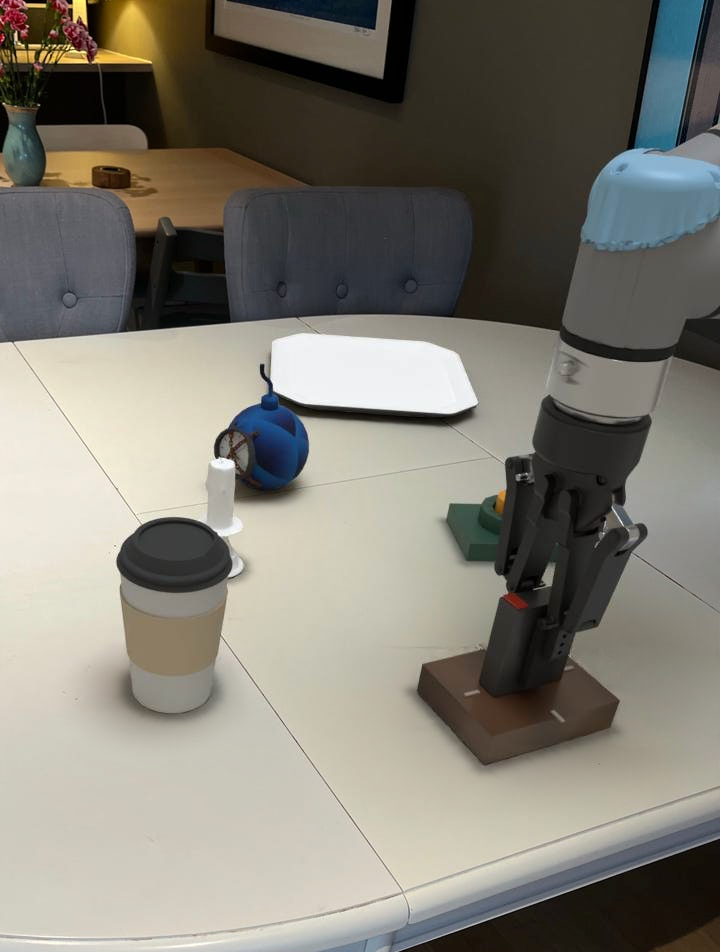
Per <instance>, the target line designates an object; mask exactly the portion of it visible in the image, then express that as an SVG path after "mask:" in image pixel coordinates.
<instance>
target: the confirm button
mask: <svg viewBox="0 0 720 952" xmlns="http://www.w3.org/2000/svg"><path fill="white" fill-rule="evenodd" d="M505 494H506V489H504V490H501V491H499V492H498V493H497V495H498V497H497V502H496V506H495V511H496V512H498V513H500V514H501V515H502V513H503V507H504V500H505Z"/></svg>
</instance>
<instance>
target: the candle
mask: <svg viewBox="0 0 720 952" xmlns="http://www.w3.org/2000/svg"><path fill="white" fill-rule="evenodd" d="M207 467H208V468H207V477H206V480H205V487H206V491H207V507H206V508H207V511H206V514H204V515H202V516H200V517H199V518H198V519H196V520H197V521H200V522H202V523H204V524H206V525H208V526H209V527H210V528H212V529H213V530H214V531H215V532H217V534H218V535H219V536H220V537H221V538H222V539H223V540H224V541H225V542H226V544H227V545H228V547H229V551H230V556H231V558H232V563H233V565H232V570H231V572H230V574H229V575H228V579H230V578H234V577H236V576H238V575H239V574H241V573H242V571H243V570H244V566H245V563H244V561H243V559H242V558H240V556H238V552H237V550H236V548H235V547H233V546H232V544H231V542H230V538H229V537H232V536H236V535H238V534H239V533H240V532H241V531H242V530H243V529H244V524H243V521H242V520H241V519H239V518H238V517H236V516H235V515H234V504H235V488H236V479H235V463H234V461H233V460H228V459H225V458H220V457H219V459H216V458H214V459H213V460H210V461H209V463H208V466H207Z"/></svg>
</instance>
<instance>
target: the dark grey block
mask: <svg viewBox="0 0 720 952" xmlns="http://www.w3.org/2000/svg"><path fill="white" fill-rule="evenodd" d="M551 587H552V585H549V586H545V587H541V588H537V589H533V590H531V591H526V592H522V593H517V594H514V593H510V594H508V593H506V594H503V595H502V596H500V597H499V599H498V602H497V607H496V611H495V615H494V618H493V623H492V626H491V631H490V633H489V638H488V642H487V645H486V647H487V650H486V654H485V658H484V662H483V666H482V670H481V674H480V678H479V683H480V684H481V685H482V686H483V687H484V688H485V689H486V690H487V691H488V692H489V693H490V694H491V695H492V696H493V697H498V696H502V695H505V694H509V693H513V692H517V691H520V690H524V689H523V688H522V687H521V686H519V681H520V678H521V674H522V671H523V667H524V664H525V660H526V657H527V653H528V649H529V646H530V642H531V639H532V635H533V632H534V628H535V625H536V621H537V619H540V618H544V617H546V616H547V610H548V604H549V599H550V593H551ZM576 634H577V633H573V634H572V635H571V638H570V642H569V644H568V648H567V651H566V655H565V656H564V657H563V658H561V659H558V661H557V664H556V667H555V671H554V674H553V677H552V680H551V682H554V681H558V680H561V679H562V675H563V672H564V669H565V666H566V663H567V659H568V656H569V655H570V653H571V651H572V650H571V649H572V647H573V643H574V639H575V636H576ZM569 657H570V656H569Z"/></svg>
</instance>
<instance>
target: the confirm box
mask: <svg viewBox="0 0 720 952" xmlns="http://www.w3.org/2000/svg"><path fill="white" fill-rule="evenodd" d="M497 497H498V494H494V495H491V496H487V497H485V498H484V499H483V501H482V502H481V503H456V502H454V503H452V502H451V503H450V502H449V504H448V509H447V514H446V520H445V521H446V523H447V525H448V526H449V529H450V530H451V532H452V535H453V537H454V538H455V540H456V543H457V544H458V547H459V549H460V550H461V553H462V555H463V556H464V559H465V560H466V561H467V562H495V558H496V552H497V545H498V539H499V532H500V526H501V519H502V515H501V514H500V513H498V512H496V511H495V506H496V502H497ZM558 547H559V544H558V543H556V545H555V548H554V550H553V553H552V555H551V557H550V560H549V562H548V563H556V558H557V552H558ZM512 558H514V555H511V556H510V559H512Z"/></svg>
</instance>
